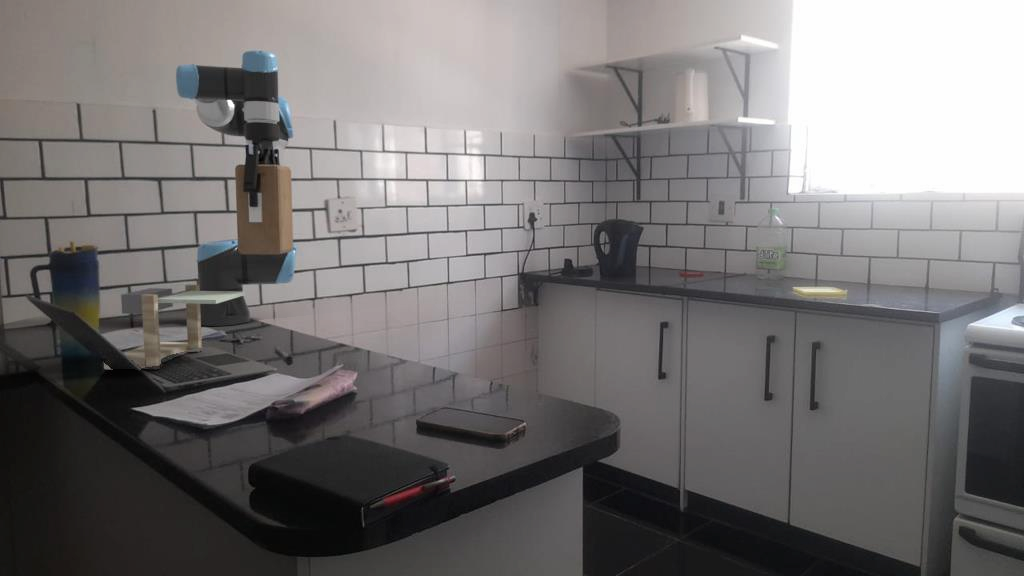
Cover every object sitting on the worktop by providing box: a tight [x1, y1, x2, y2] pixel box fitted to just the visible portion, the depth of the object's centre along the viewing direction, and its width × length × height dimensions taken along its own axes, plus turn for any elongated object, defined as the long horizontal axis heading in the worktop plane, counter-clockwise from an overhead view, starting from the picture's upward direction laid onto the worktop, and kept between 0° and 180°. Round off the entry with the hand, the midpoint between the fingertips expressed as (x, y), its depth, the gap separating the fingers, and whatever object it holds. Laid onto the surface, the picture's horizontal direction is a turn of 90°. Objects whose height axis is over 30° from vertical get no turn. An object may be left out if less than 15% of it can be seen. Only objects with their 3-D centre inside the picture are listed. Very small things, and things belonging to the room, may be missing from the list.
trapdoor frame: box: [103, 283, 203, 370], centre depth 158 cm, size 19×11×16 cm, turn 176°
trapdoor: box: [120, 287, 246, 315], centre depth 157 cm, size 14×21×4 cm, turn 86°
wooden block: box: [234, 164, 294, 255], centre depth 167 cm, size 10×10×20 cm
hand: (265, 221), depth 168 cm, fingers closed on wooden block, 10 cm apart
